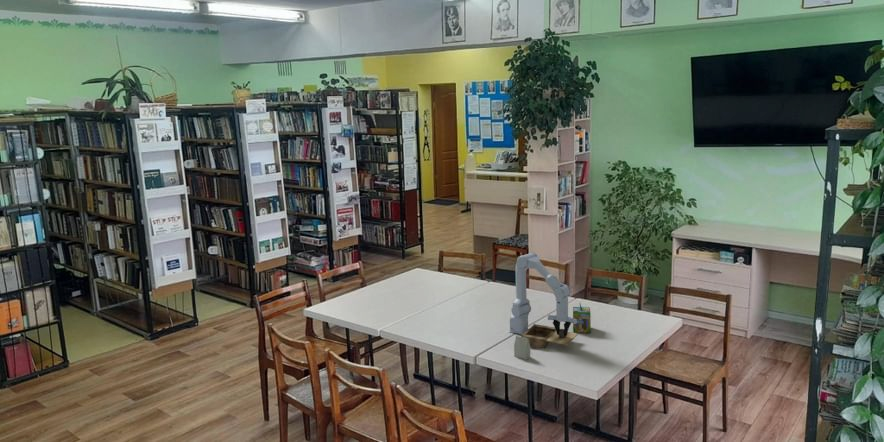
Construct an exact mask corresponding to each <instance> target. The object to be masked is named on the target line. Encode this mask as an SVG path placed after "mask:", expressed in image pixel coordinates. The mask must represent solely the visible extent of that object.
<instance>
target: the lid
mask: <svg viewBox="0 0 884 442" xmlns="http://www.w3.org/2000/svg"><path fill="white" fill-rule="evenodd" d="M578 334H579V333H578V332H570V331H568V333H567V336H564V328H560V329H559V335H557V332H556V331H555V332H554V333H553V334H552V335H551V336H550V337H549V338H548V339H547V340H546V341H547V342H550V343H555V344H560V345H563V346H564V345H565V346H569V345H570V343H572V341H573V340H574V339H576V337H577V336H578Z"/></svg>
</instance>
